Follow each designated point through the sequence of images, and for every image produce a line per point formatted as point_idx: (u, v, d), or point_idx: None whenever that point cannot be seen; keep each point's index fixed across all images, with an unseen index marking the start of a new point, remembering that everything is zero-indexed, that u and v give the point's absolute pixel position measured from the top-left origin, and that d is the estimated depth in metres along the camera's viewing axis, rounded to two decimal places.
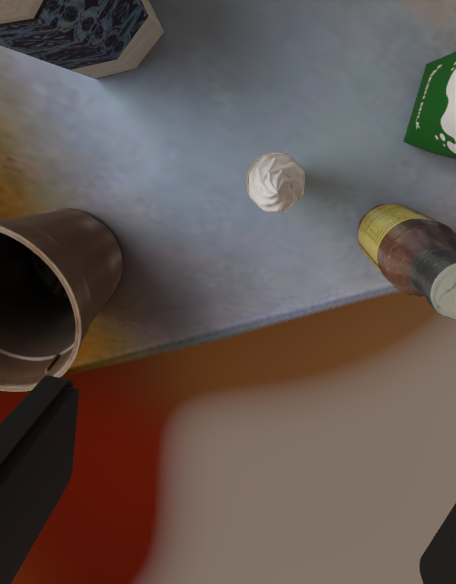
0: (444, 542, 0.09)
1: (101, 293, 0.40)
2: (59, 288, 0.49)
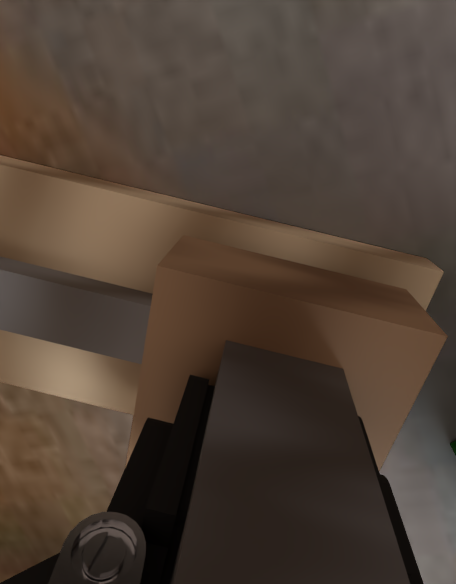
0: None
1: None
2: None
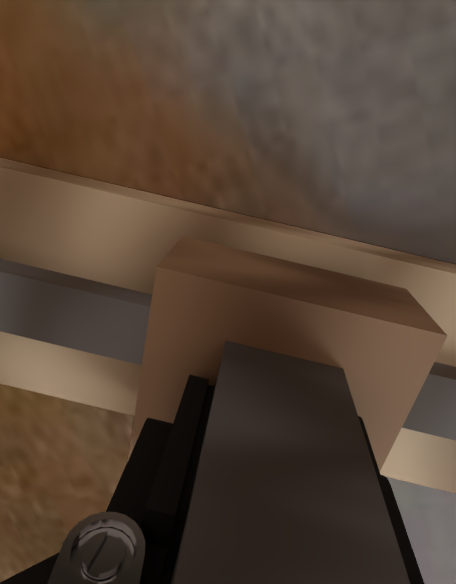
0: None
1: None
2: None
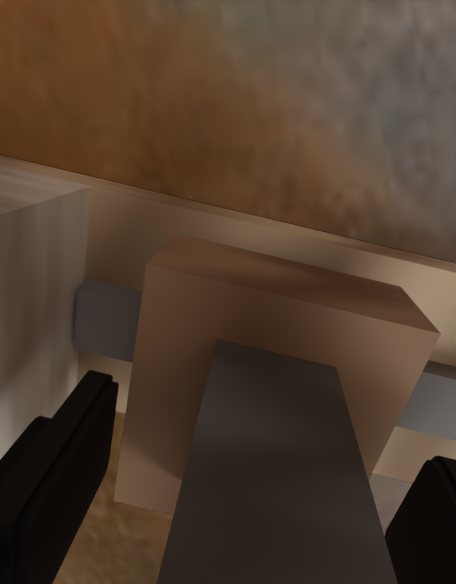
0: (405, 514, 0.09)
1: None
2: None
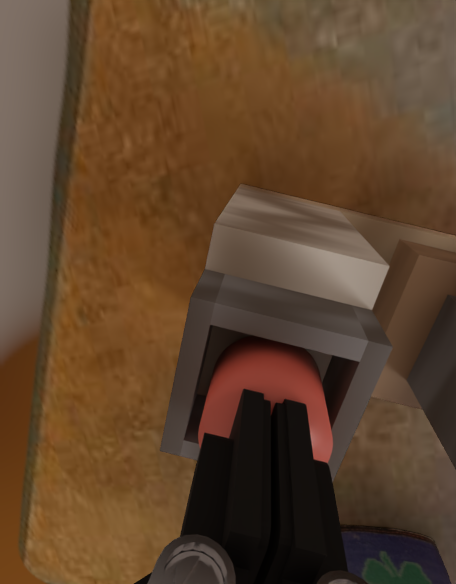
0: None
1: None
2: None
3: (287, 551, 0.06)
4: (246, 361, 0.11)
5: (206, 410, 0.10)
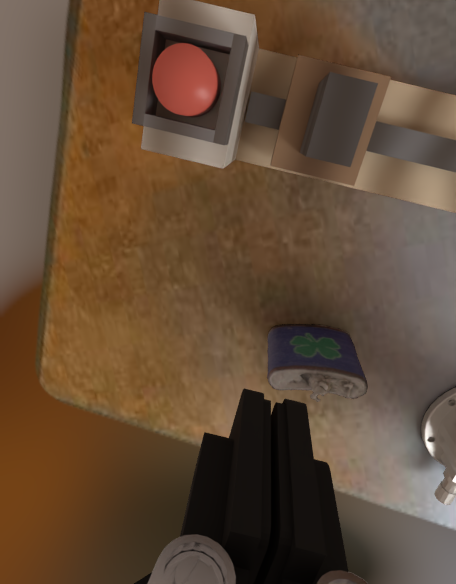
0: None
1: None
2: None
3: (287, 551, 0.06)
4: None
5: (155, 62, 0.22)
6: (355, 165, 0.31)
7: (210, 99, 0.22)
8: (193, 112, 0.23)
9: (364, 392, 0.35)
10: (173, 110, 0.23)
